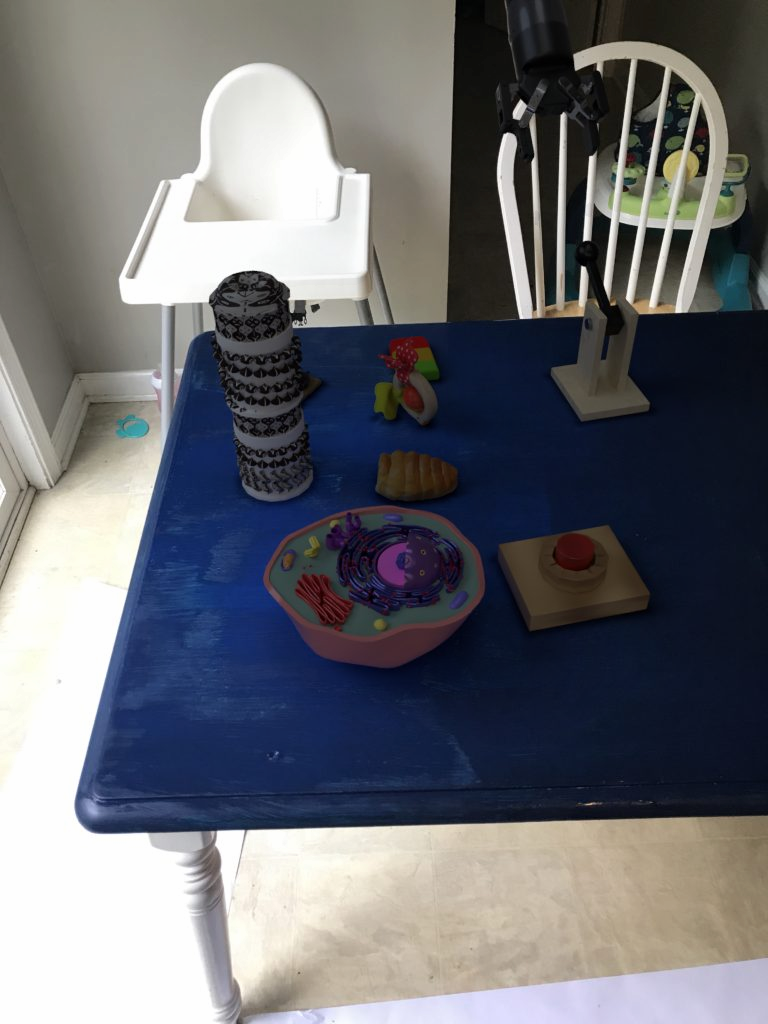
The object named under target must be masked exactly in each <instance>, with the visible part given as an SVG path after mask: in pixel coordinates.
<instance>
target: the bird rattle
mask: <svg viewBox="0 0 768 1024" xmlns="http://www.w3.org/2000/svg"><path fill="white" fill-rule="evenodd" d="M412 347H413V339H412V338H409V339H407V340H406V341H405V343H404V344H403V345H402V346H401V345H398V346H397V347H396V359H394V358H392V357H391V355H386V354H382V353H380V354H378V358H379V359H381V360H384V361H385V366H386V368H387V369H389V370H393V369H394V370H395V369H397V371H395V373H394V374H393V377H392V382H387V381H384V382H383V381H380V382H378V383H376V385H375V387H374V395H375V400H374V401H375V402H374V405H373V410H374V413H376V414H379V413H383V417H384V418H385V420H387V421H393V420H395V419H396V418H397V412H398V407H399V404H400V405H401V406H402V408H403V409H404V410H405V411H406V412H407V413H408V414H409V415H410V417H412V418H413V419H415V420H416V422H418V423H419V424H420V425H421V426H424V427H425V426H427V425H428V424H429V423H430V421H431V420H432V419H433V418H434V417H435V416H436V414H437V413H438V408H439V404H438V402H439V401H438V398H437V395H436V392H435V389H433V387H432V385H431V383H430V382H429V381H427V379H426V378H425V377H424V376H423V375H422V374H421V373H420V372H419V370H418V369H417V368H415V367H414V366H415V364H416V363H417V361H418V359H419V357H418V354H417V352H416V351H415V350H414V349H413V348H412Z"/></svg>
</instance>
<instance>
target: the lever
mask: <svg viewBox="0 0 768 1024" xmlns="http://www.w3.org/2000/svg"><path fill="white" fill-rule="evenodd" d="M573 256H574V260H575V263H577V265H579V266H580V267H583V268H585V269H586V273H587V276H588V279H589V283H590V284H591V288H592V291H593V293H594V296H595V300H596V303H597V306H598V307H599V309H600V310H601V311H602V312H603V313H604V315H605V316H606V317H607V323H606V330H605V336H604V338H605V337H610V336H612V335H618V334H619V332H620V331H621V329H622V327H623V326H624V324H625V323H624V320H623V317H622V315H621V312H620V309H619V306H618V305H615V304H612V305H611V302H610V299H609V295H608V293H607V290H606V287H605V285H604V282H603V279H602V276H601V272H600V270H599V267H598V264H597V263H598V261H599V259H600V256H601V249H600V246H599V245H598V244H597V243H596V242H594V241H593V240H583V241H581V242H580V243H578V245H576V247H575V248H574V252H573Z"/></svg>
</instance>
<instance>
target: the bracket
mask: <svg viewBox="0 0 768 1024" xmlns="http://www.w3.org/2000/svg"><path fill="white" fill-rule="evenodd" d="M614 305H618V306H619V309H620V312H621V315H622V317H623V320H624V323H625V324H624V326H623V327H622V329H621V331H620V332H619V334H618V335H612V336H609V340H608V345H607V352H606V356H605V359H602V354H603V347H604V341H605V337H606V336H605V330H606V323H607V317H606V316H605V315H604V313H603V312H602V311H601V310H600V309H599V306H598V304H596V302H595V301H594V300H591V301H590V300H589V301H585V304H584V312H583V319H582V320H583V321H582V326H581V333H580V339H579V347H578V355H577V362H576V363H574V364H567V365H561V366H554V367H551V370H550V377H551V378H552V380H553V381H554V382H555V384H556V385H557V387H558V388H559V390H560V391H561V393H562V394H563V396H564V398H565V399H566V400H567V402H568V404H569V405H570V406H571V408H572V410H573V412H575V414H576V415H577V417H578V418H579V420H580V422H588V421H594V420H601V419H607V418H613V417H618V416H625V415H633V414H639V413H644V412H649V410H650V407H651V406H650V405H651V403H650V401H649V400H648V399H647V397H646V396H645V395H644V394H643V392H642V391H641V390H640V389H639V387H638V386H637V384H635V382H634V381H633V379H632V378H631V377H630V376H629V369H630V363H631V358H632V353H633V347H634V342H635V337H636V331H637V327H638V321H639V316H640V313H639V312H638V310H637V309H636V308H635V307H634V306H633V305H632V304H631V303H630V302H629V301H628V300H627V298H626V297H625V296H618V297H616V298H615V304H614ZM604 336H605V337H604Z"/></svg>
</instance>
